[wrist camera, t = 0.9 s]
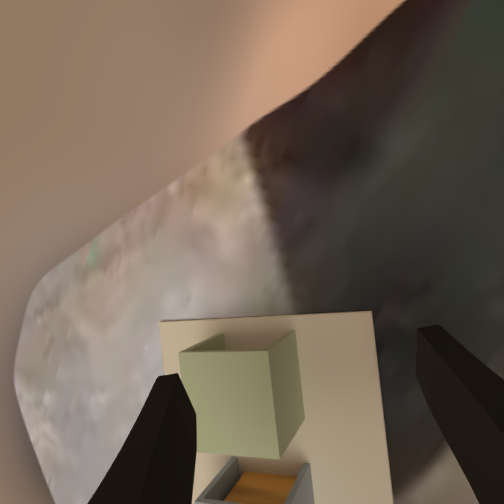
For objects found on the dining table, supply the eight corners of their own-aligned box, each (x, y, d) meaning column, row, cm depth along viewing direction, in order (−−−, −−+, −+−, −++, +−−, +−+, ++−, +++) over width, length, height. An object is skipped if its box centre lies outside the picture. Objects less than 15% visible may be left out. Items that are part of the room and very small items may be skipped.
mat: (404, 592, 26) (403, 598, 26) (186, 551, 32) (184, 554, 32) (371, 310, 26) (371, 311, 26) (161, 321, 32) (158, 322, 32)
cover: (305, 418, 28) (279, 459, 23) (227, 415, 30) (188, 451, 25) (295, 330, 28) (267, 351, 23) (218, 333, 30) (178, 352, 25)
